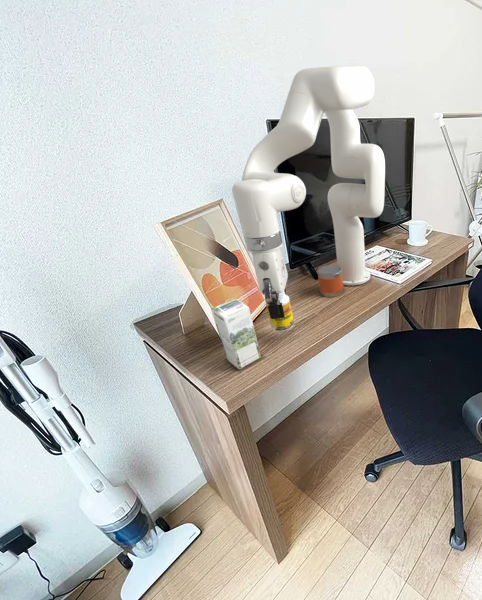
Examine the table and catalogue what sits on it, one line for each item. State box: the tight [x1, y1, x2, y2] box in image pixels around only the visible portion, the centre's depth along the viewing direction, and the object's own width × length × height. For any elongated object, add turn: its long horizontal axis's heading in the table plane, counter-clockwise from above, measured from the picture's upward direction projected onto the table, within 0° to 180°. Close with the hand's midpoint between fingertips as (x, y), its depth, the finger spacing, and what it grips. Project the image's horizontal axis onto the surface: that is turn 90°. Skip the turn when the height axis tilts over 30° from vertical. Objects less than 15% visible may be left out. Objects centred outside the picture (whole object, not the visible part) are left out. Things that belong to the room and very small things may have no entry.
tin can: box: [317, 264, 344, 298], centre depth 103 cm, size 8×8×8 cm
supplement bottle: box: [265, 289, 295, 333], centre depth 80 cm, size 6×6×10 cm
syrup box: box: [210, 298, 262, 371], centre depth 73 cm, size 6×6×14 cm
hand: (279, 310), depth 80 cm, fingers closed on supplement bottle, 5 cm apart
